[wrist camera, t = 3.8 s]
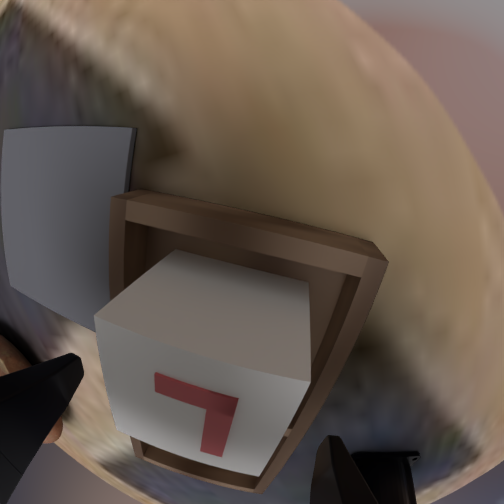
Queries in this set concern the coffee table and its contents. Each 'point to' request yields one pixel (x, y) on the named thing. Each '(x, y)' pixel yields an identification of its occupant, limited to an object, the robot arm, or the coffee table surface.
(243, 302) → the letter cube
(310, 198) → the coffee table surface
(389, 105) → the coffee table surface
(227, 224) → the tray
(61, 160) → the pad
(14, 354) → the ceramic jug
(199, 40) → the coffee table surface
